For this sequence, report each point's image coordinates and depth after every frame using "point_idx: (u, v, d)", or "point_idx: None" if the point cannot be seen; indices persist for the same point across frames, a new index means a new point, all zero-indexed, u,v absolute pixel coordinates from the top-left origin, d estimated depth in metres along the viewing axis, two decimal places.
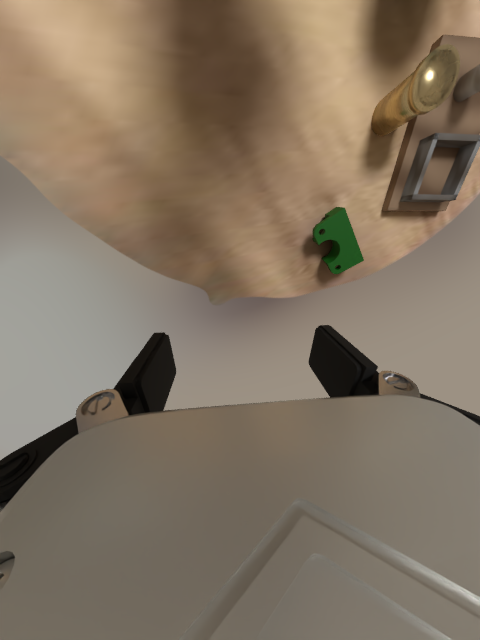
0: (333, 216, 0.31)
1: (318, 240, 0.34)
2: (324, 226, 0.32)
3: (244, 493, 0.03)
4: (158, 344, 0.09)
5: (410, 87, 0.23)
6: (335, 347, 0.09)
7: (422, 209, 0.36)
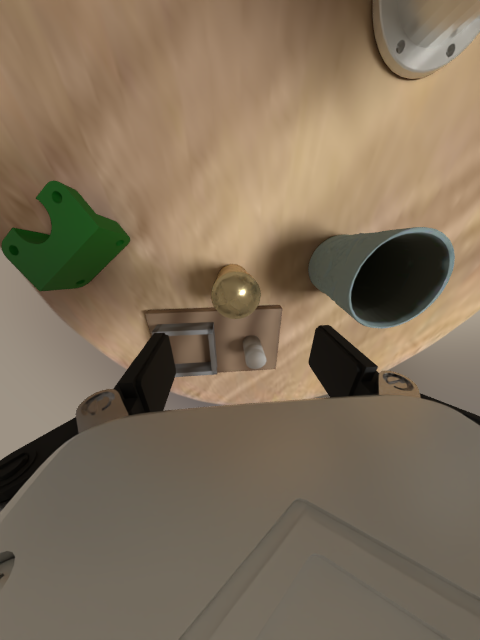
0: (84, 211, 0.18)
1: (42, 194, 0.18)
2: (66, 199, 0.18)
3: (244, 493, 0.03)
4: (158, 344, 0.09)
5: (230, 271, 0.20)
6: (335, 347, 0.09)
7: None
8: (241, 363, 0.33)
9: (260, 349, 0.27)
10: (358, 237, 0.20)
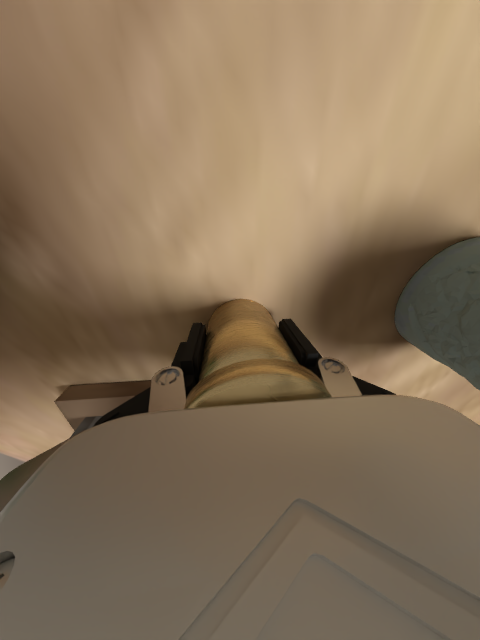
0: None
1: None
2: None
3: (244, 493, 0.03)
4: (200, 332, 0.10)
5: (245, 367, 0.05)
6: (289, 338, 0.10)
7: None
8: None
9: None
10: None
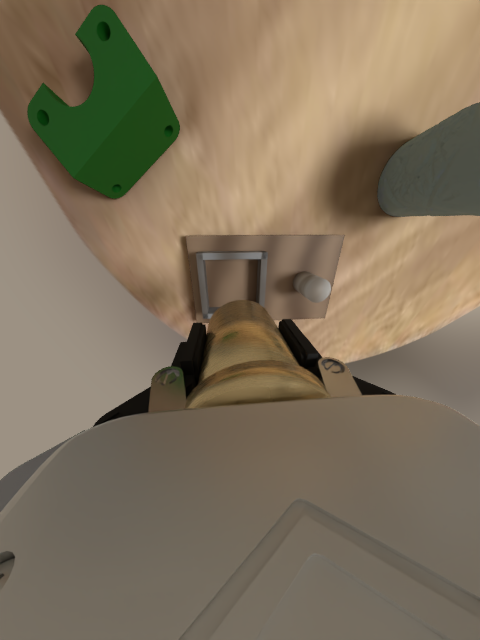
0: (138, 53, 0.14)
1: (84, 27, 0.13)
2: (115, 33, 0.13)
3: (244, 493, 0.03)
4: (200, 332, 0.10)
5: (245, 369, 0.05)
6: (289, 338, 0.10)
7: (194, 292, 0.26)
8: (287, 310, 0.29)
9: None
10: None
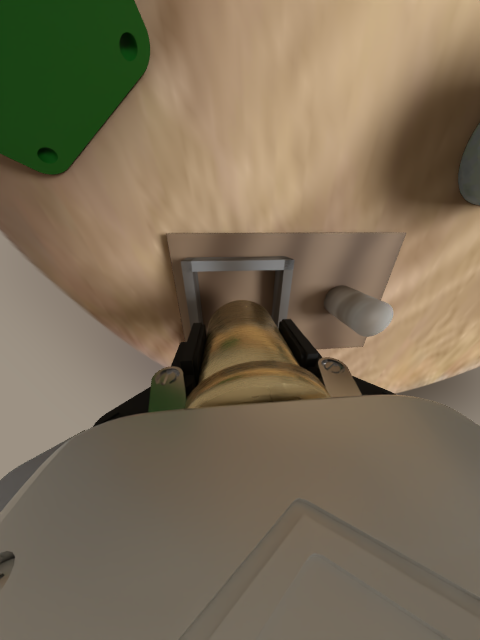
0: None
1: None
2: None
3: (244, 493, 0.03)
4: (200, 332, 0.10)
5: (245, 369, 0.05)
6: (289, 338, 0.10)
7: (182, 315, 0.18)
8: (313, 337, 0.21)
9: (378, 299, 0.15)
10: None
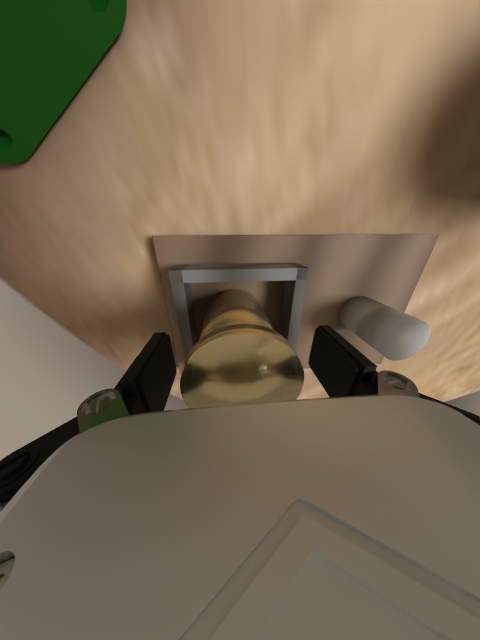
0: None
1: None
2: None
3: (244, 493, 0.03)
4: (158, 344, 0.09)
5: (230, 328, 0.07)
6: (334, 347, 0.09)
7: (173, 331, 0.16)
8: None
9: (411, 316, 0.12)
10: None
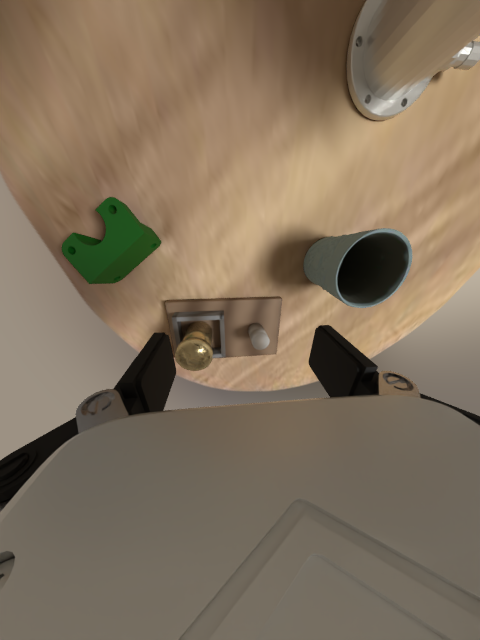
0: (133, 220, 0.23)
1: (100, 207, 0.22)
2: (119, 211, 0.23)
3: (244, 493, 0.03)
4: (158, 344, 0.09)
5: (189, 338, 0.27)
6: (335, 347, 0.09)
7: (172, 339, 0.35)
8: (246, 349, 0.38)
9: (264, 332, 0.32)
10: (342, 237, 0.25)
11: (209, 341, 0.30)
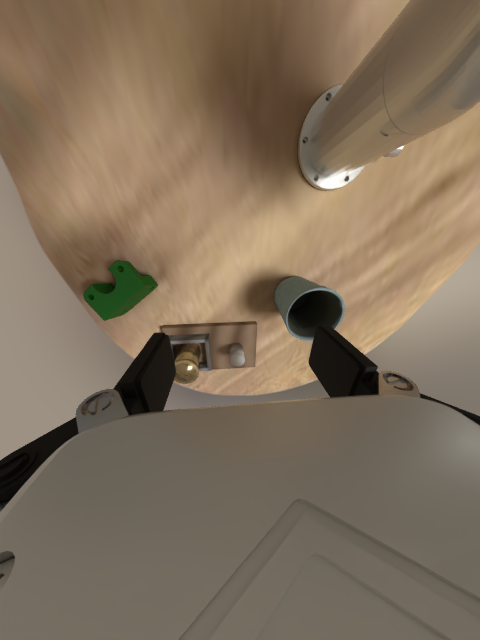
0: (136, 277, 0.30)
1: (112, 267, 0.30)
2: (125, 270, 0.30)
3: (244, 493, 0.03)
4: (158, 344, 0.09)
5: (179, 360, 0.35)
6: (335, 347, 0.09)
7: None
8: (229, 363, 0.45)
9: (240, 353, 0.39)
10: (297, 284, 0.32)
11: (196, 359, 0.38)
